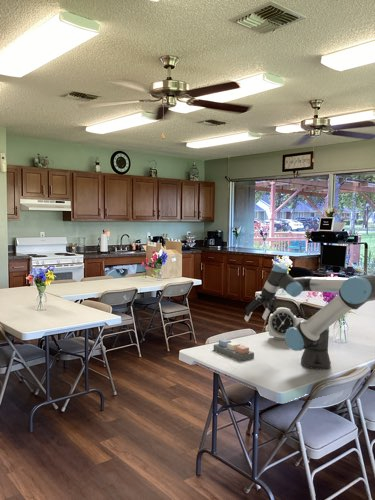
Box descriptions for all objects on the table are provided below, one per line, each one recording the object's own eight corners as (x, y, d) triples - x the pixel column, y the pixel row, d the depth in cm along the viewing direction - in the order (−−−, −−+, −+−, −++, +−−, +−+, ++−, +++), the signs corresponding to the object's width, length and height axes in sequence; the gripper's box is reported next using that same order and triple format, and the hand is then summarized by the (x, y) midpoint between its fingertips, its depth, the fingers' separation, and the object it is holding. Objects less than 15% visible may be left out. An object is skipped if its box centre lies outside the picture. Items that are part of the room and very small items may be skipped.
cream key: (239, 349, 241) (239, 344, 241) (232, 350, 238) (233, 345, 238) (233, 347, 245) (234, 342, 245) (227, 348, 242) (227, 343, 242)
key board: (253, 358, 235) (254, 352, 235) (240, 361, 230) (240, 355, 229) (226, 347, 254) (227, 342, 254) (213, 349, 248) (213, 344, 248)
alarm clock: (267, 339, 274) (268, 308, 272) (268, 336, 282) (269, 305, 281) (296, 342, 269) (298, 310, 268) (296, 338, 278) (297, 307, 276)
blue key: (230, 346, 247) (231, 340, 247) (224, 347, 244) (224, 342, 244) (225, 343, 251) (225, 338, 251) (218, 345, 248) (218, 340, 248)
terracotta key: (248, 353, 235) (249, 347, 235) (242, 354, 232) (242, 348, 232) (242, 350, 239) (242, 345, 239) (235, 352, 236) (236, 346, 236)
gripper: (282, 284, 243) (267, 313, 252) (249, 285, 229) (234, 316, 238) (290, 292, 238) (274, 322, 247) (257, 294, 224) (241, 325, 233)
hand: (254, 319), depth 243 cm, fingers open, 13 cm apart
